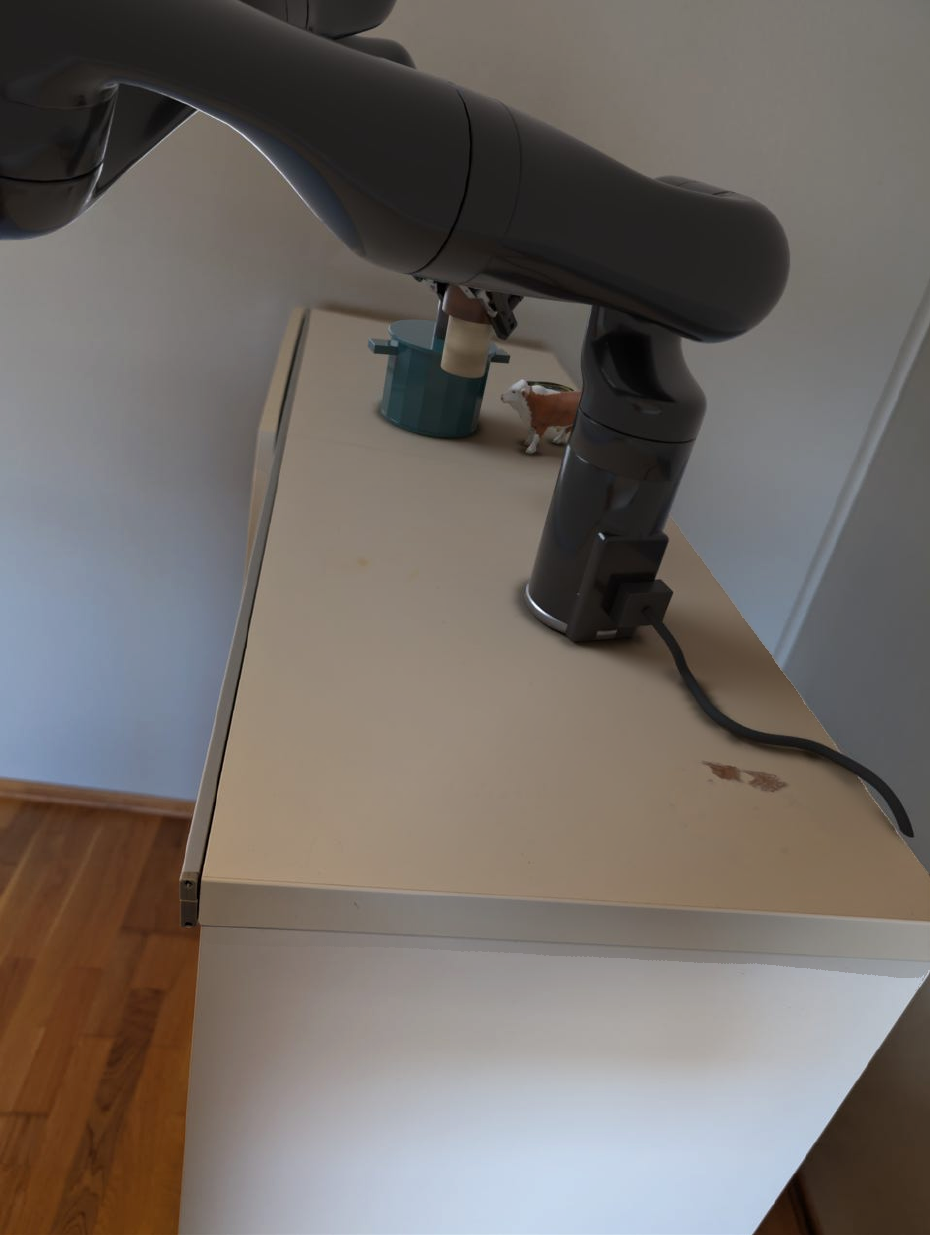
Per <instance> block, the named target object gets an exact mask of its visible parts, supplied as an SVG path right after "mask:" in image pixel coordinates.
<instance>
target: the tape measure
mask: <svg viewBox="0 0 930 1235" xmlns="http://www.w3.org/2000/svg"><path fill="white" fill-rule="evenodd" d="M525 381H526V382H527V384H528V385H529V386H535V385H540V386H543V387H544V388H545V389H551V390H555V391H561V392H570V391H575V390H574V389H573V388H571V387H568V386H566V385H564V384H560V383H556V382H551V381H541V380H540V381H534V380H533V381H531V380H525Z"/></svg>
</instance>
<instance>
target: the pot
mask: <svg viewBox="0 0 930 1235" xmlns="http://www.w3.org/2000/svg"><path fill="white" fill-rule="evenodd" d="M367 341H368V342H367V348H368V349H369V350H370V351H371V352H372V353H373V354H374V355H387V356H388V357H387V364H386V371H385V378H384V384H383V392H382V398H381V405H380V412H381V415H382V416H383V418H384V419H385V420H387V422H389V423H390V424H392V425H394V426H396V427H398V428H400V429H403V430H405V431H408V432H411V433H414V434H418V435H422V436H426V437H431V438H432V437H433V438H441V439H442V438H443V439H445V438H446V439H454V438H463V437H467V436H470V435H472V434H473V433H474V432H475V431H476V429H477V427H478V423H479V420H480V414H481V409H482V406H483V400H484V395H485V391H486V387H487V386H486V385H487V381H488V377H489V372H490V366H491V363H495V364H496V363H497V364H506V365H507V364H510V360H511V354H509V353H508V351H506V350H504V349H503V348H497V352H496V354H495V355H494V356H493V357H491V358H488V359H487V363H486V368H485V373H484V375H483V376H482V377H478V378H468V377H462V376H457V375H454V374H451V373H449V372H447V371H445V370H443V369H442V368H441V361H442V357H441V356H436V355H432V354H428V353H424V352H421V351H418V350H415V349H412V348H410V347H407V346H405V345H403V344H401V343H399V342H398V341H396V340H395V339H393V338H392V337H391V336H390V339H385V338H372V337H368V340H367Z"/></svg>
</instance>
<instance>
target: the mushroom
mask: <svg viewBox="0 0 930 1235" xmlns="http://www.w3.org/2000/svg"><path fill="white" fill-rule="evenodd" d="M486 296H487V297H488V298H489V299H490V300H491V299H492V298H493V296H492V292H491V291H489V290H487V291H486ZM442 310H443V311H444V312H445V313H446V314H448V315H449V321H448V326H447V332H446V338H445V344H444V349H443V355H442V361H441V368H442V369H443V370H445V371H447V372H449V373H451V374H454V375H457V376H462V377H468V378H478V377H482V376H483V375H484V373H485V368H486V363H487V358H488V353H489V348H490V343H491V340H492V338H493V333H494V329H493V327H492V325H491V322H490V320H489V318H488V316H487V312H486V311H485V310H484V308H483V307H482V306H481V305H480V303H479V302H478V301H477V300H476V299H473V300H471V299H469V298H468V297H467V296H466V294H465V293H464V292H463V291H462V289H461V288H460V287H459V286H458V285H453V284H448V283H446V288H445V294H444V300H443V306H442Z"/></svg>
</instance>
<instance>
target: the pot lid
mask: <svg viewBox="0 0 930 1235" xmlns="http://www.w3.org/2000/svg"><path fill="white" fill-rule="evenodd" d="M442 306H443V305H442V303H441V301H440V299H439V300H438V306H437V312H436V317H435V320H428V319H414V318H413V319H410V318H409V319H400V320H396V321H393V322H391V323H390V324H389V326H388V330H387V331H388V335H389V336H390V338H391V337H392V338H393V339H395V340H396V341H398V342H399V343H401V344H403V345H405V346H407V347H410V348H412V349H415V350H418V351H421V352H424V353H428V354H432V355H436V356H441V357H442V355H443V349H444V344H445V338H446V332H447V326H448V321H449V316H448V314H446V313H445V312H444V311H443V310H442ZM497 349H498V345H497V344H496V343H495V342H494V341H493V340H492V339H491V343H490V348H489V353H488V358H491V357H493V356H494V355H495V354H496V352H497ZM488 358H487V359H488Z"/></svg>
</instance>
